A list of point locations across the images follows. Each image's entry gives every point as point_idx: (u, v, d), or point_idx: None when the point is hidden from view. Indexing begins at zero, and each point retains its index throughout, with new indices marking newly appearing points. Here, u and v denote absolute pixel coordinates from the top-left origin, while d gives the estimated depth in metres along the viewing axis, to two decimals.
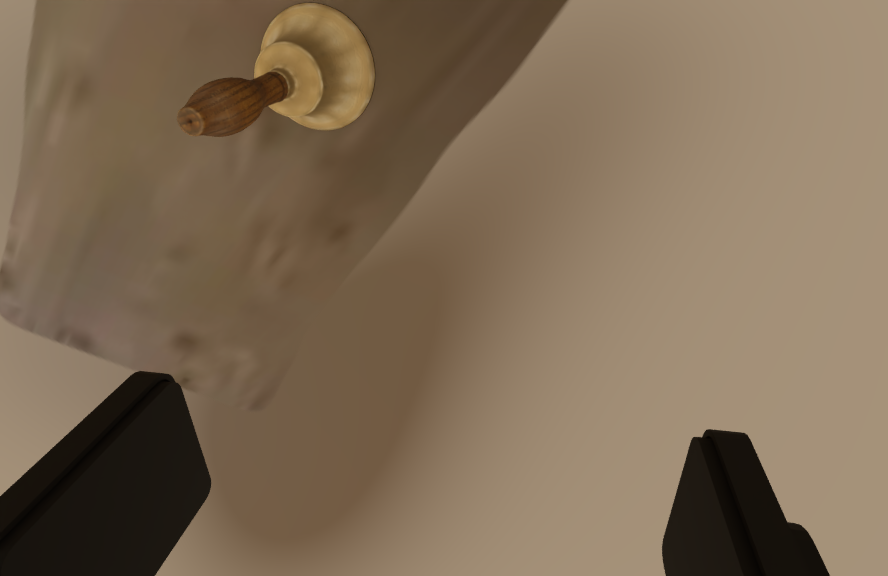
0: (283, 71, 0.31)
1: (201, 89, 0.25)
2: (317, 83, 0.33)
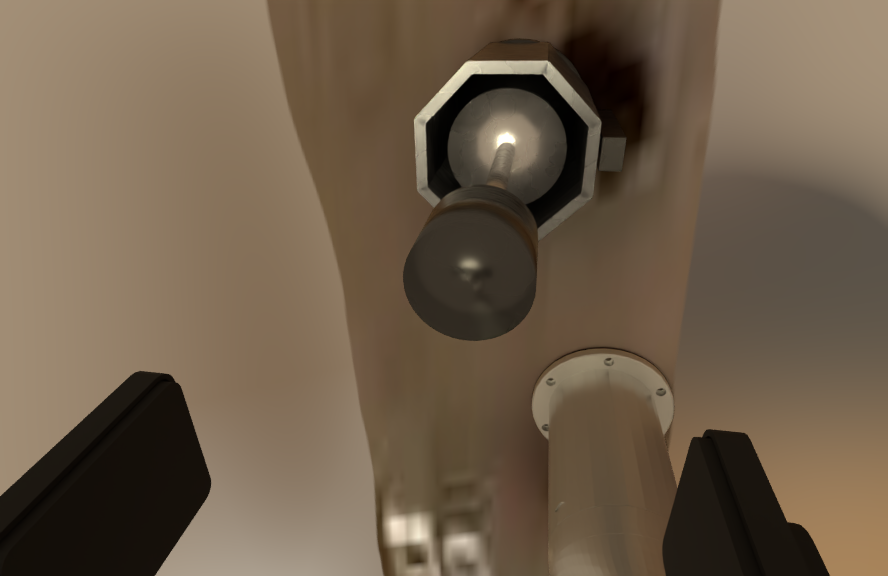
0: None
1: None
2: None
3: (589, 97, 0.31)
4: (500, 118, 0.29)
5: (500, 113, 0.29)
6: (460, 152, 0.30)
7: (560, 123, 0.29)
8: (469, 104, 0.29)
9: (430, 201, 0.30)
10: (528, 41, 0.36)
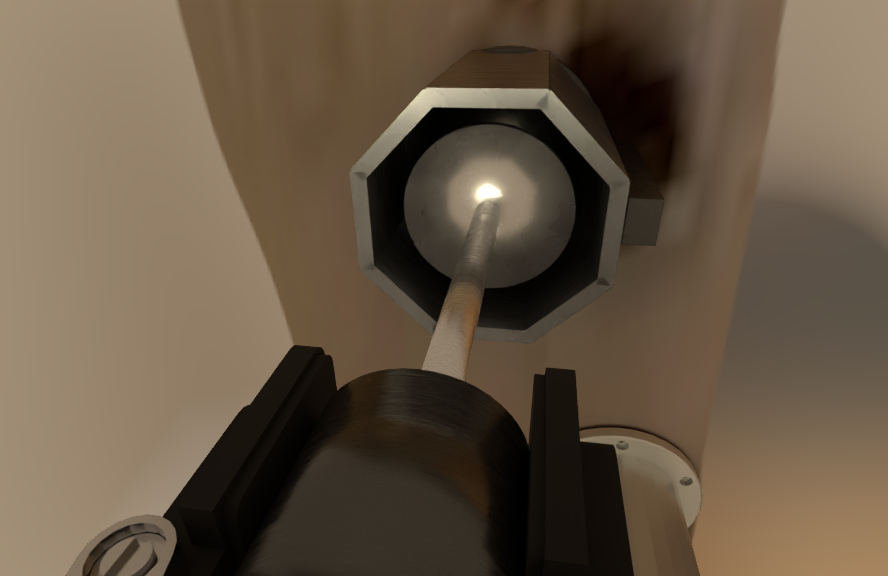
0: None
1: None
2: None
3: (606, 132, 0.22)
4: (478, 168, 0.20)
5: (478, 161, 0.20)
6: (422, 213, 0.21)
7: (566, 176, 0.19)
8: (433, 147, 0.20)
9: (379, 284, 0.21)
10: (521, 49, 0.27)
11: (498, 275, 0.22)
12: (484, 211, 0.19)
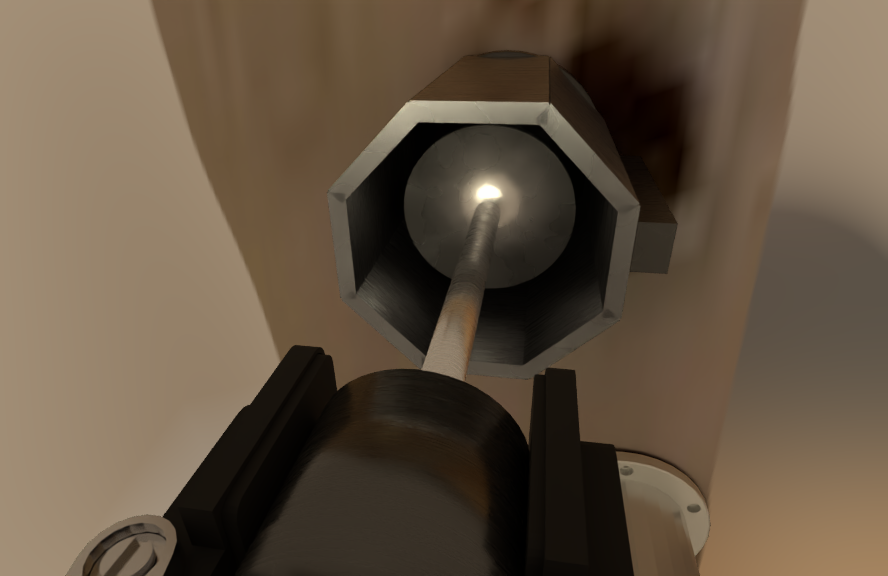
0: None
1: None
2: None
3: (612, 146, 0.20)
4: (478, 168, 0.20)
5: (478, 161, 0.20)
6: (422, 214, 0.21)
7: (566, 176, 0.19)
8: (433, 147, 0.20)
9: (362, 314, 0.19)
10: (519, 54, 0.25)
11: (498, 275, 0.22)
12: (484, 211, 0.19)
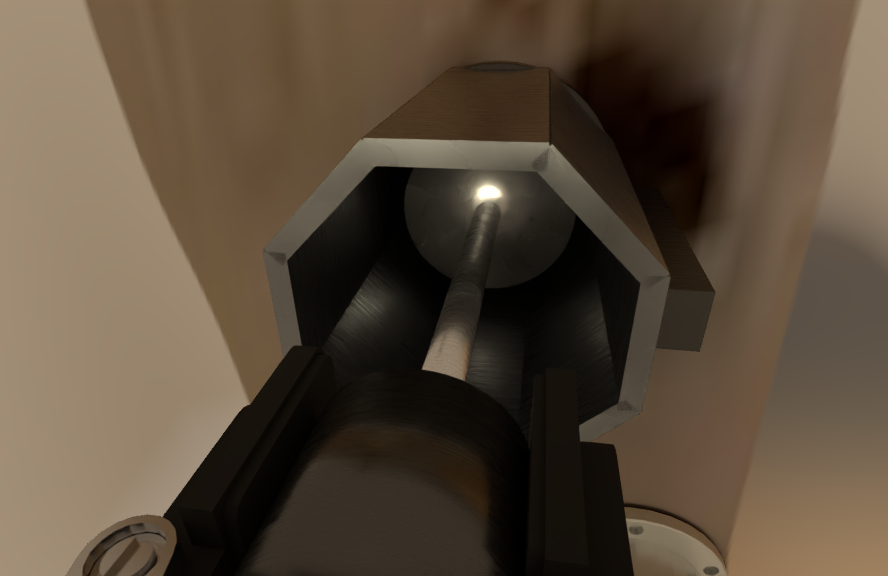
0: None
1: None
2: None
3: (627, 183, 0.16)
4: None
5: None
6: (422, 213, 0.21)
7: None
8: None
9: None
10: (514, 67, 0.21)
11: (499, 275, 0.22)
12: (484, 211, 0.19)
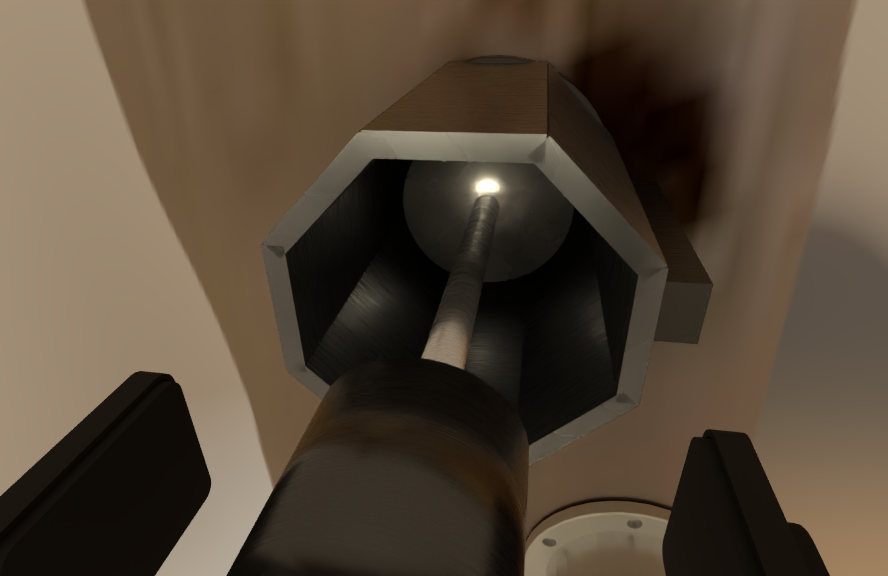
0: None
1: None
2: None
3: (625, 176, 0.16)
4: (477, 162, 0.20)
5: None
6: (421, 207, 0.21)
7: None
8: None
9: (314, 389, 0.15)
10: (512, 60, 0.21)
11: (497, 268, 0.22)
12: (483, 205, 0.19)
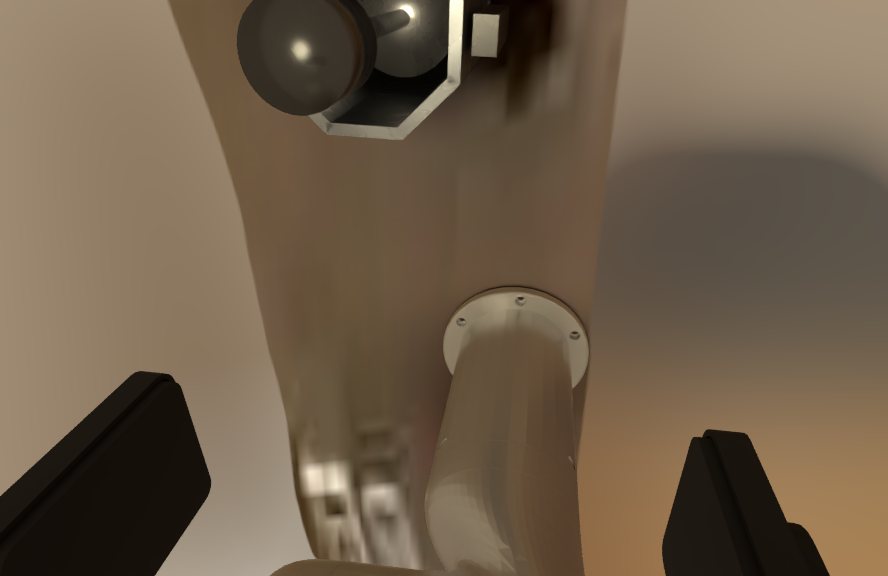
0: None
1: None
2: None
3: None
4: None
5: None
6: None
7: None
8: None
9: None
10: None
11: (410, 66, 0.33)
12: (396, 10, 0.31)
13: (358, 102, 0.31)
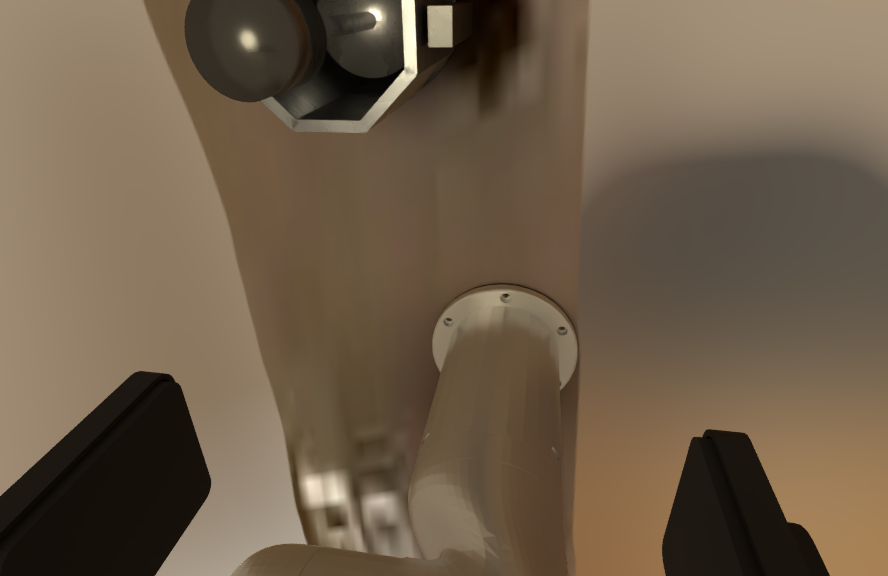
0: None
1: None
2: None
3: None
4: None
5: None
6: None
7: None
8: None
9: None
10: None
11: (379, 67, 0.34)
12: (361, 12, 0.31)
13: (328, 102, 0.32)
